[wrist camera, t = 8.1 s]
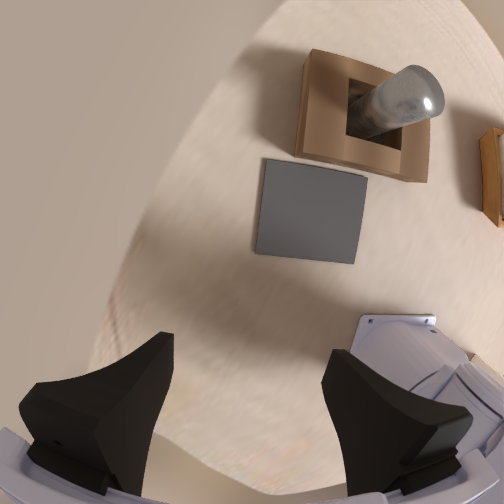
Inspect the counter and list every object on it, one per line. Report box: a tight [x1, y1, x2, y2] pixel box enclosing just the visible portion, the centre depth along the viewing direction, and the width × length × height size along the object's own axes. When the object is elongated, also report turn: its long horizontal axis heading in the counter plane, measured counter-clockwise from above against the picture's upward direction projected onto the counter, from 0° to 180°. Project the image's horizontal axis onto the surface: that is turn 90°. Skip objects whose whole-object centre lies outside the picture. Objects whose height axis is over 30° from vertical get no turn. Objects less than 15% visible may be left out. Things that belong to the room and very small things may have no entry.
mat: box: [255, 159, 368, 264], centre depth 20 cm, size 8×7×1 cm
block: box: [294, 49, 430, 183], centre depth 17 cm, size 10×8×3 cm
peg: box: [346, 65, 445, 139], centre depth 14 cm, size 3×3×9 cm
